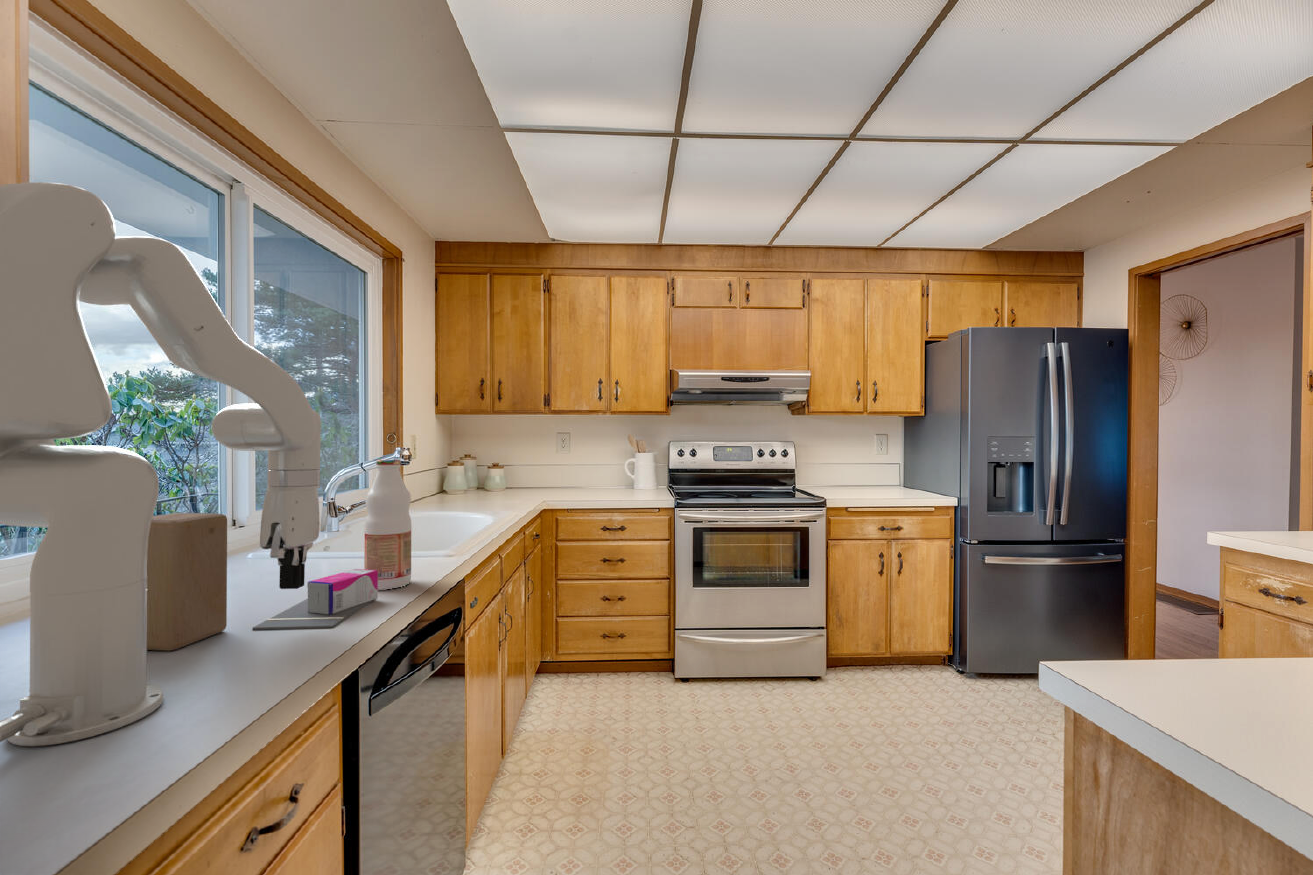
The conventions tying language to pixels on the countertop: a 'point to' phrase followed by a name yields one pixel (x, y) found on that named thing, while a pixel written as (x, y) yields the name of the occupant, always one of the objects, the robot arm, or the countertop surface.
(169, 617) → the wooden block
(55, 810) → the countertop surface
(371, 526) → the fruit juice
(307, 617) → the mat
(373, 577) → the supplement box
